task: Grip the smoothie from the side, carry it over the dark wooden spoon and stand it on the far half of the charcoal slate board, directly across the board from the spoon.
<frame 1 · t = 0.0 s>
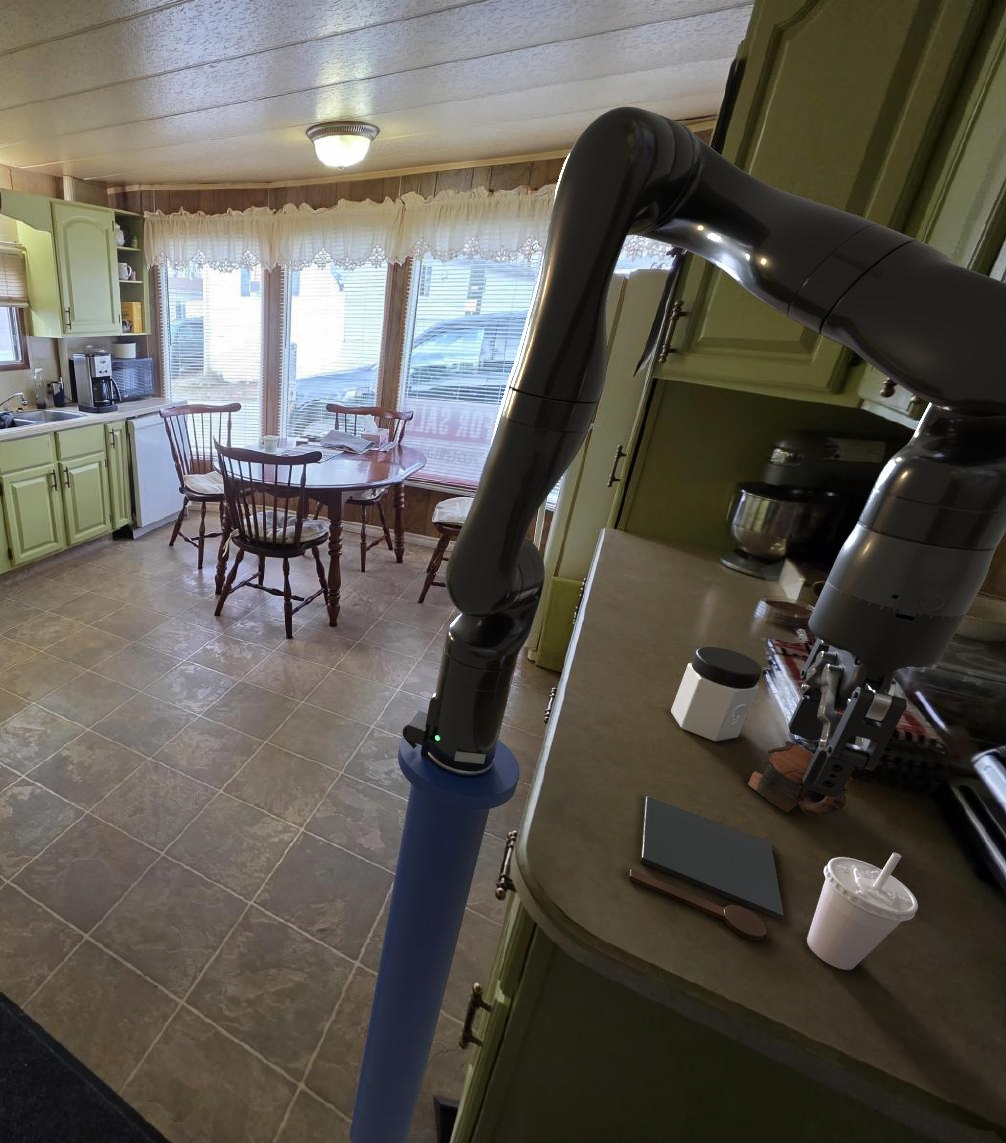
hand: (810, 761, 52), 24 cm above the worktop, tool pointing down, fingers open, 8 cm apart
slate board: (705, 854, 72), on the worktop
spoon: (691, 902, 66), on the worktop
jar: (702, 725, 96), on the worktop
smoothie: (829, 953, 62), on the worktop
pottery mug: (795, 802, 81), on the worktop
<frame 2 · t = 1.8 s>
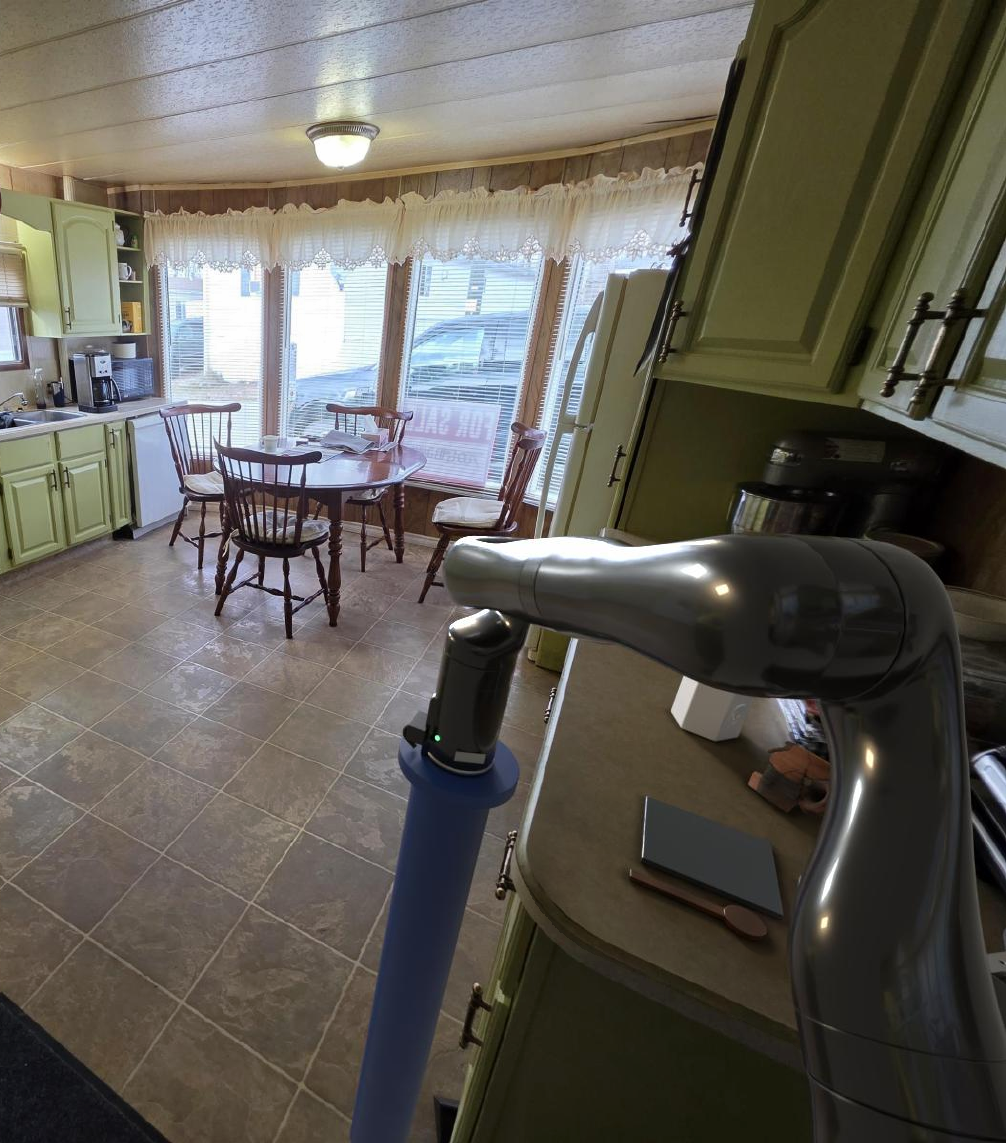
hand: (930, 887, 46), 19 cm above the worktop, tool horizontal, fingers open, 8 cm apart
nothing on the worktop moved.
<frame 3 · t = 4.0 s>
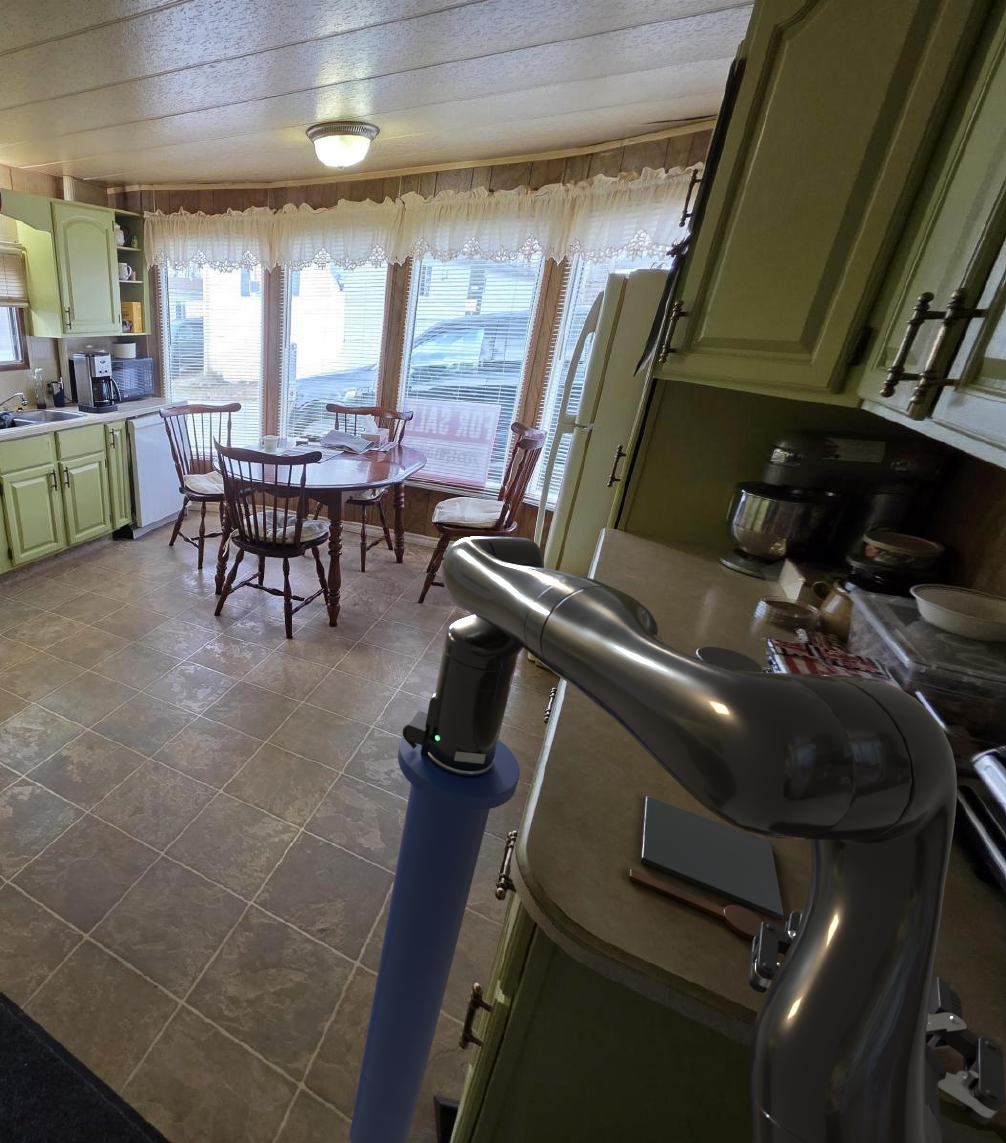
hand: (866, 949, 53), 8 cm above the worktop, tool horizontal, fingers open, 8 cm apart
nothing on the worktop moved.
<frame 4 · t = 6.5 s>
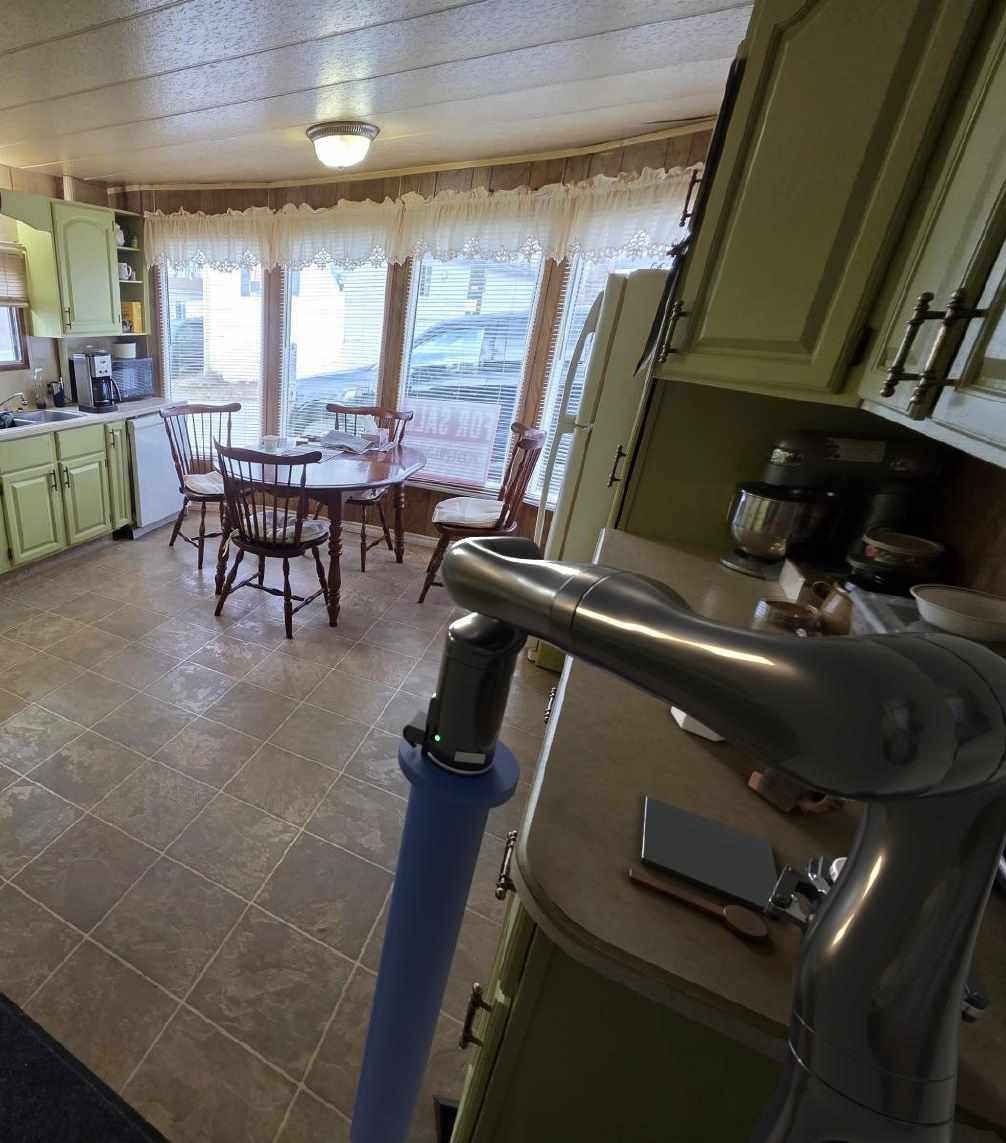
hand: (868, 885, 59), 8 cm above the worktop, tool horizontal, fingers closed on smoothie, 6 cm apart
smoothie: (829, 952, 62), on the worktop, touching gripper
everything else where it was.
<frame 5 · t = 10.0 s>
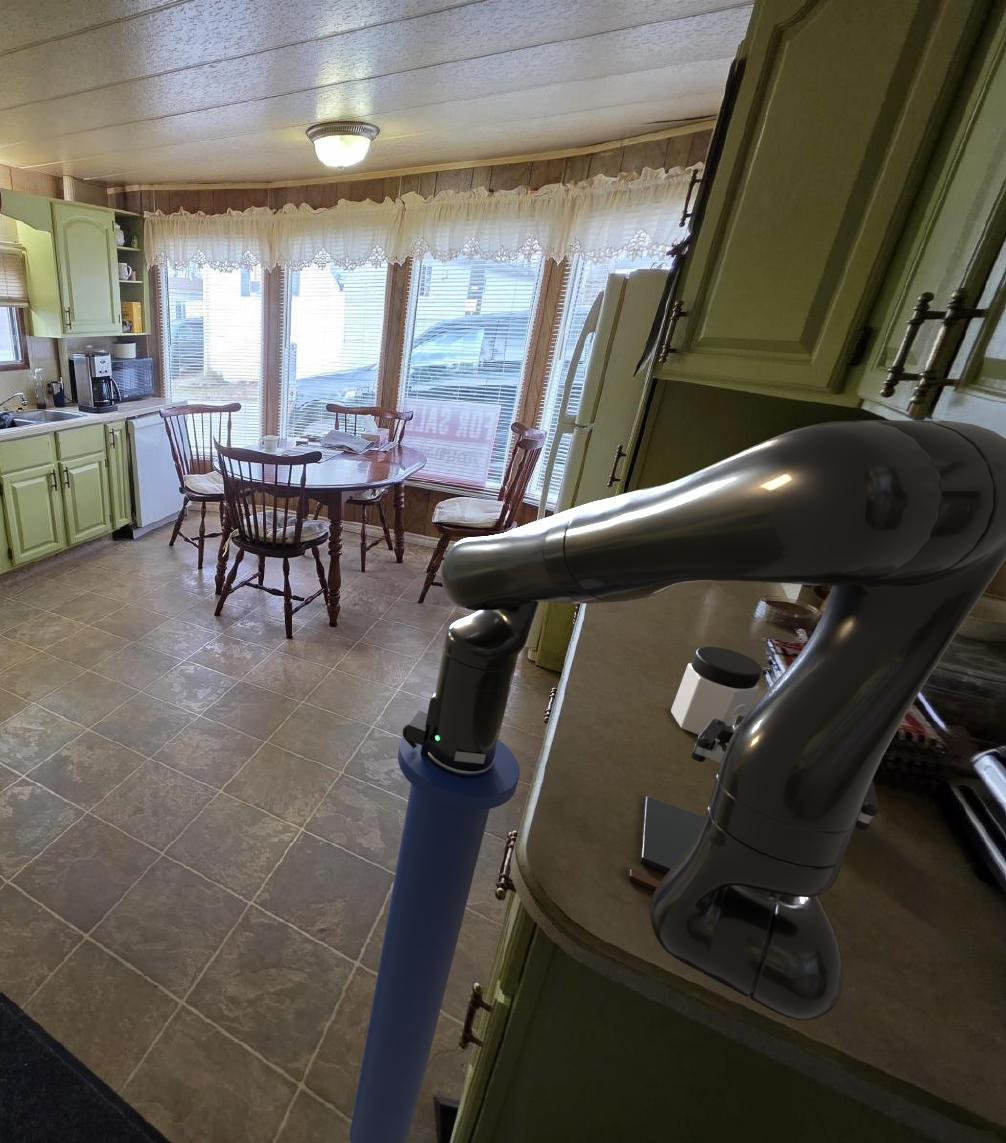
hand: (787, 736, 65), 18 cm above the worktop, tool horizontal, fingers closed on smoothie, 6 cm apart
smoothie: (754, 802, 67), point 9 cm above the worktop, touching gripper
everything else where it was.
when the fingers open (9 cm above the worktop, at t = 13.5 s): smoothie stays where it is, resting on slate board.
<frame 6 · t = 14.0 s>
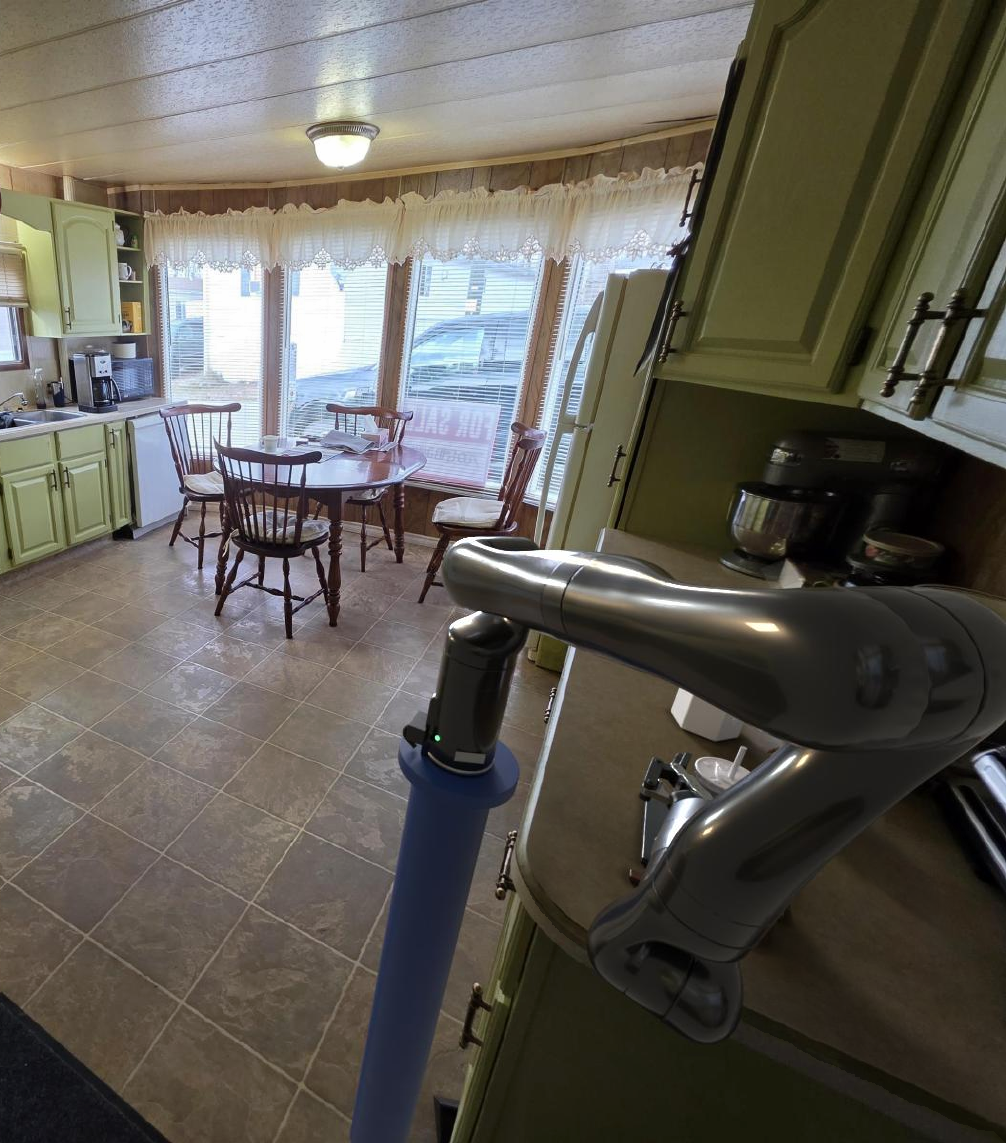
hand: (729, 776, 71), 9 cm above the worktop, tool horizontal, fingers open, 8 cm apart
smoothie: (700, 838, 74), point 1 cm above the worktop, touching slate board
everything else where it was.
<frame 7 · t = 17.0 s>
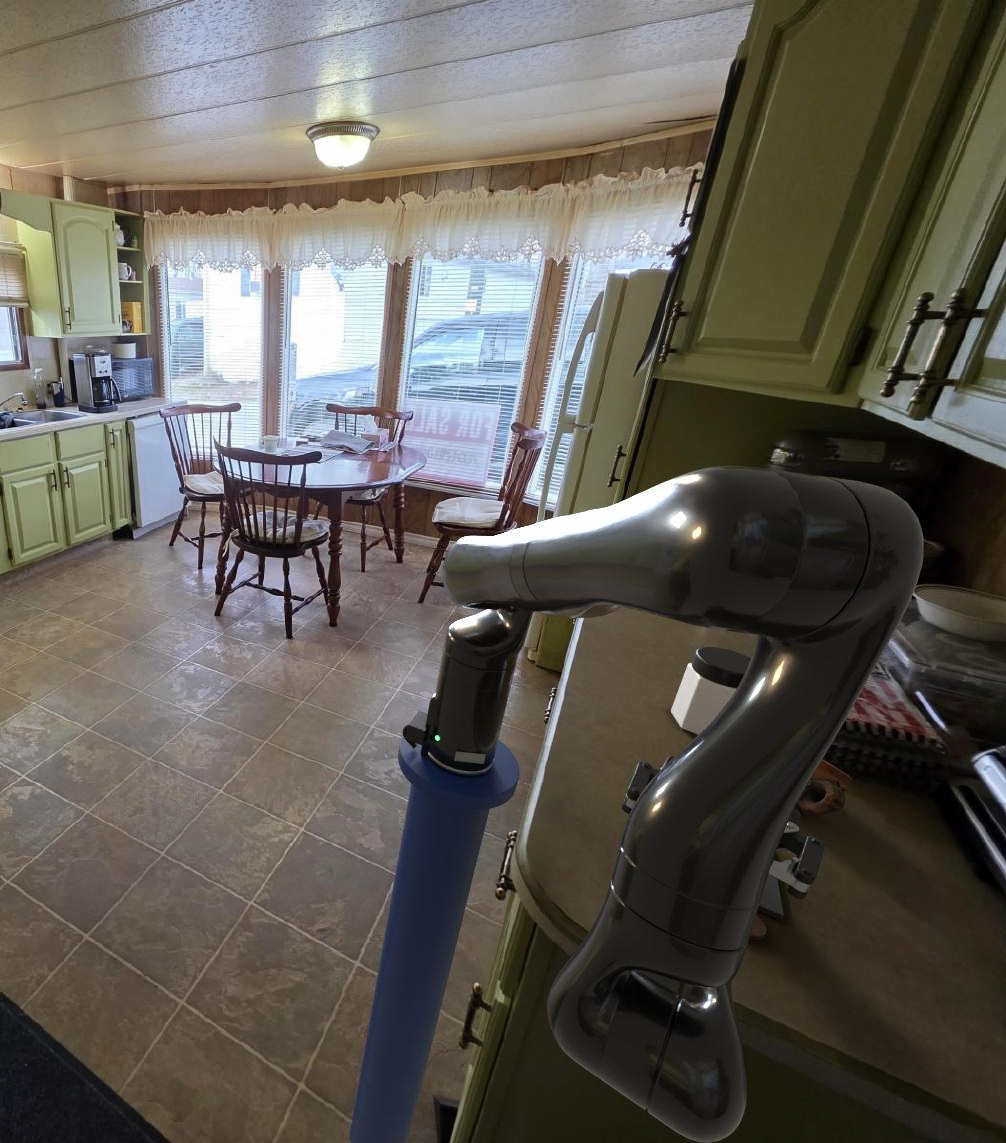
hand: (729, 783, 60), 16 cm above the worktop, tool horizontal, fingers open, 8 cm apart
nothing on the worktop moved.
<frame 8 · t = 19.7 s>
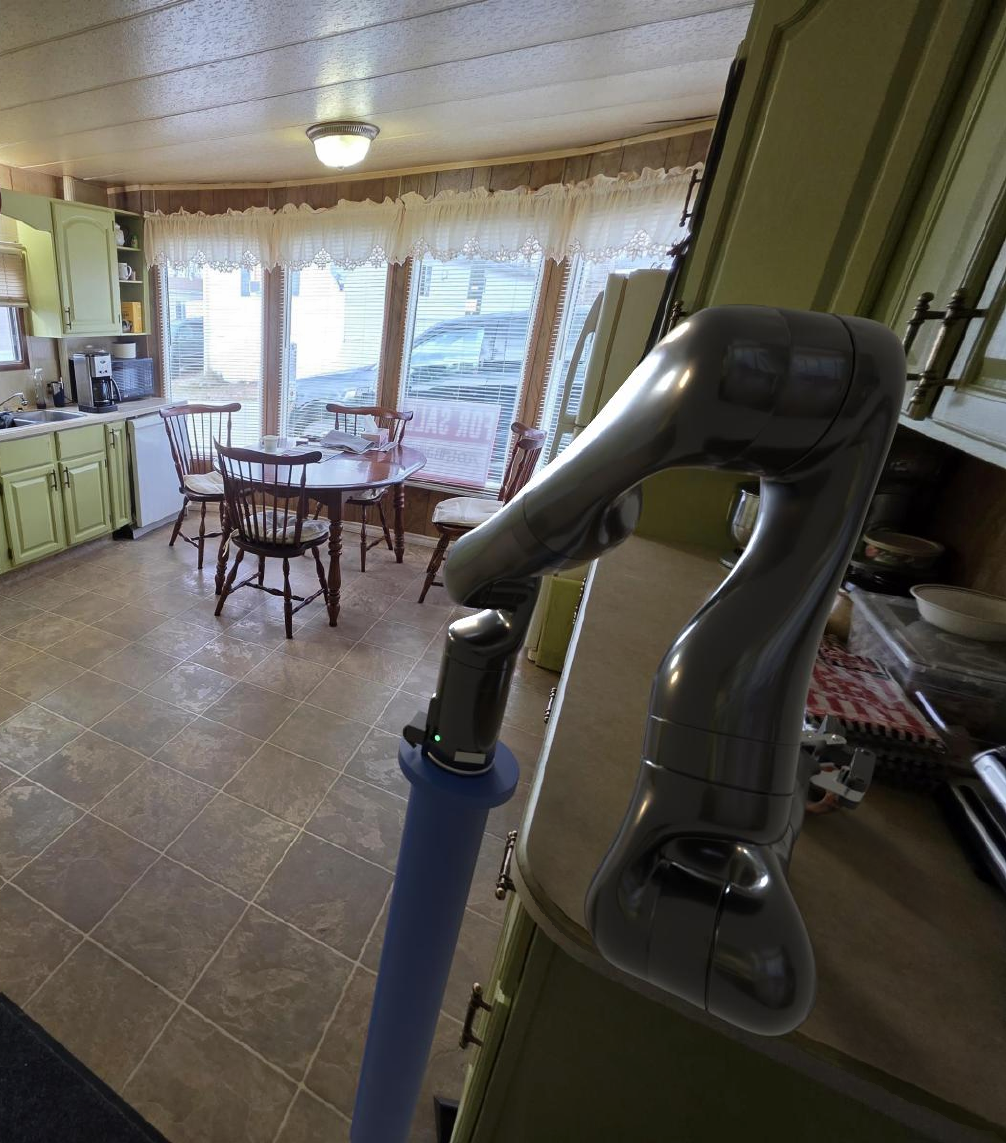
hand: (766, 703, 56), 26 cm above the worktop, tool horizontal, fingers open, 8 cm apart
nothing on the worktop moved.
at the end: smoothie inside the target area on the worktop beside the spoon (0.4 cm from its centre), point 0.6 cm above the worktop; smoothie touching slate board; smoothie tilted 0° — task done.
